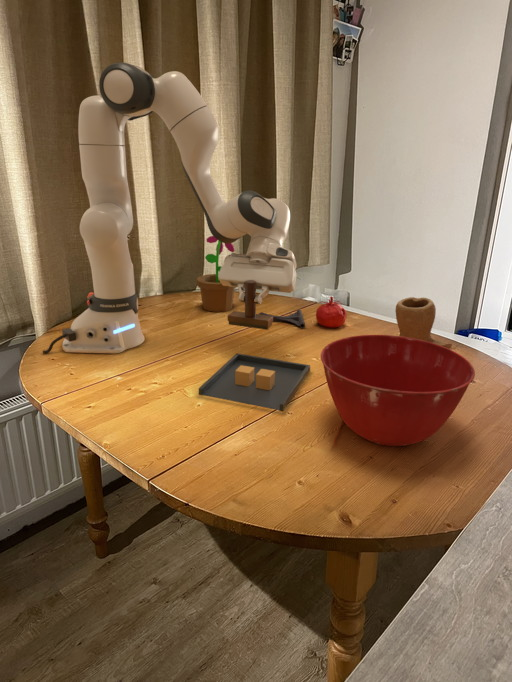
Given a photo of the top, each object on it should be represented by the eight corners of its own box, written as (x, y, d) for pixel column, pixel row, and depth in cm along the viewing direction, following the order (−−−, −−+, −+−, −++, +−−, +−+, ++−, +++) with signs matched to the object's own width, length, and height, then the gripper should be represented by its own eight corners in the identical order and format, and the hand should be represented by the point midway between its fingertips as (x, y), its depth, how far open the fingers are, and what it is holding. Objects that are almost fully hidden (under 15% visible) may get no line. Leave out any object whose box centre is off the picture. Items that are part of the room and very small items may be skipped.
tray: (236, 361, 132) (236, 353, 131) (309, 373, 126) (310, 365, 125) (198, 397, 113) (198, 388, 112) (282, 414, 106) (283, 404, 106)
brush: (227, 324, 128) (226, 281, 124) (233, 319, 132) (233, 277, 128) (267, 330, 125) (268, 285, 121) (273, 325, 128) (274, 281, 124)
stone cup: (382, 349, 141) (388, 298, 135) (401, 338, 149) (407, 290, 144) (434, 364, 132) (443, 310, 126) (451, 351, 140) (460, 300, 134)
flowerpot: (244, 304, 179) (245, 219, 168) (226, 315, 167) (225, 224, 156) (209, 299, 184) (207, 216, 173) (189, 310, 172) (186, 221, 161)
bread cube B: (240, 378, 121) (240, 365, 119) (254, 380, 120) (254, 367, 118) (235, 384, 118) (235, 370, 116) (248, 386, 116) (249, 373, 115)
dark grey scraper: (257, 313, 169) (257, 305, 168) (301, 314, 169) (301, 306, 168) (257, 328, 156) (257, 320, 155) (305, 328, 156) (305, 320, 155)
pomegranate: (321, 331, 154) (322, 302, 151) (310, 321, 163) (311, 293, 160) (350, 329, 156) (353, 300, 153) (338, 319, 165) (340, 291, 162)
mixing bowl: (335, 386, 119) (340, 325, 113) (463, 410, 109) (475, 344, 103) (298, 448, 95) (302, 374, 89) (459, 486, 84) (474, 405, 79)
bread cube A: (260, 381, 119) (261, 368, 118) (274, 384, 118) (275, 370, 117) (255, 388, 116) (255, 374, 115) (269, 390, 115) (270, 376, 113)
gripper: (223, 246, 131) (208, 291, 126) (298, 252, 124) (285, 300, 119) (230, 259, 137) (215, 303, 132) (302, 266, 130) (290, 312, 125)
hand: (249, 302), depth 125 cm, fingers closed on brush, 3 cm apart
